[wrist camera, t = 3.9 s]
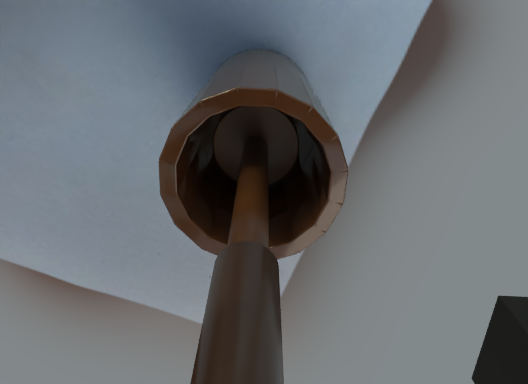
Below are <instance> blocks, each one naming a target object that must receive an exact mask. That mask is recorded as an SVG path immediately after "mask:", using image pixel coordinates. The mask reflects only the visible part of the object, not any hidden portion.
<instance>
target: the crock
mask: <svg viewBox="0 0 528 384" xmlns="http://www.w3.org/2000/svg"><path fill="white" fill-rule="evenodd" d="M238 106H254V107H272V108H275V109H277V110H279V111H281V112H283V113H285V114H288V115H290V116H292V117H293V119H294V121H295V124H296V128H297V133H298V137H299V152H298V156H297V159H296V162H295V164H294V165H293V167H292V169H291V170H290V171H289V172H288V173H287V174H286V175H285V176H284V177H282V178H281V179H280V180H278V181H276V182H274V183H271V184H268V210H269V250H270V251H271V252H272V253H273V254H274V256H275V257H276V259H281V258H284V257H287V256H291V255H294V254H297V253H298V252H299V253H300V252H301V251H303V250H304V249H305V248H307V247H308V246H309V245H311V244H312V243H313V242H315V241H316V240H317V239H319V238H320V237H321V236H323V235H324V234H325V233H326V232H327V230H328V228H329V227H330V225H331V224H332V222H333V220H334V219H335V217H336V215H337V214H338V212H339V210H340V209H341V207H342V205H343V203H344V197H345V190H346V184H347V176H348V170H347V169H348V166H347V163H346V160H345V156H344V153H343V149H342V146H341V143H340V139H339V136H338V134H337V132H336V130H335V129H334V127H333V125H332V123H331V121H330V119H329V117H328V116H327V114H326V112H325V110H324V108H323V106H322V104H321V103H320V101H319V99H318V97H317V96H316V95H315V94H314V92H313V90H312V88H311V86H310V84H309V82H308V81H307V79H306V77H305V75H304V73H303V72H302V71H301V69H300V68H299V67H298V66H297V65H296V64H295V63H294V62H293V61H292V60H291V59H289V58H288V57H286V56H284V55H283V54H280V53H278V52H275V51H272V50H266V49H251V50H246V51H243V52H240V53H237V54H235V55H233V56H232V57H230V58H228V59H227V60H226V61H225V62H224V63H222V64H221V66H220V67H219V68H218V69H217V70H216V72H215V73H214V74H213V76H212V77H211V78H210V80H209V81H208V82H207V84H206V85H205V86H204V87H203V88H202V89H201V90H200V91H199V92H198V94H197V95H196V96H195V98H194V99H193V100H192V102H191V103H190V104H189V105H188V107H187V108H186V109H185V111H184V112H183V113H182V115H181V116H180V117H179V119H178V120H177V121H176V123H175V124H174V125H173V127H172V128H171V130H170V133H169V135H168V138H167V140H166V143H165V145H164V148H163V150H162V153H161V155H160V158H159V179H160V194H161V197H162V199H163V201H164V203H165V206H166V208H167V210H168V212H169V214H170V216H171V218H172V220H173V222H174V224H175V225H176V226H177V227H178V228H179V229H180V230H181V231H182V232H183V233H184V234H186V235H187V236H188V237H189V238H190V239H191V240H192V241H193V242H194V243H195V244H197V245H198V246H199V247H200V248H201V249H203V250H205V251H208V252H210V253H213V254H215V255H218V254H219V253H220V252H221V251H222V250H223V249H224V248H225V247H227V245H228V239H229V233H230V226H231V220H232V214H233V208H234V202H235V196H236V189H237V183H238V182H237V181H235V180H233V179H231V178H230V177H229V176H227V175H226V174H225V173H224V172H223V171H222V169H221V168H220V167H219V165H218V163H217V161H216V159H215V156H214V153H213V136H214V132H215V129H216V126H217V124H218V122H219V119H220V117H221V115H222V113H223V112H224V111H227V110H230V109H233V108H236V107H238Z"/></svg>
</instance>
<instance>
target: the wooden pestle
mask: <svg viewBox="0 0 528 384" xmlns="http://www.w3.org/2000/svg"><path fill="white" fill-rule="evenodd" d="M298 152H299V137H298V133H297V128H296V124H295V121H294V119H293V117H292V116H290V115H288V114H285V113H283V112H281V111H279V110H277V109H275V108H272V107H254V106H238V107H236V108H233V109H230V110H227V111H224V112H223V113H222V115H221V117H220V119H219V122H218V124H217V126H216V129H215V132H214V136H213V153H214V156H215V159H216V161H217V163H218V165H219V167H220V168H221V169H222V171H223V172H224V173H225V174H226V175H227V176H229V177H230V178H231V179H233V180H235V181H237V182H238V183H237V189H236V196H235V202H234V208H233V214H232V220H231V226H230V233H229V239H228V245H227V247H225V248H224V249H223V250H222V251H221V252H220V253H219V254H218V256H217V258H216V260H215V264H214V269H213V274H212V279H211V284H210V289H209V294H208V299H207V304H206V309H205V314H204V319H203V324H202V329H201V334H200V339H199V344H198V350H197V354H196V359H195V364H194V369H193V374H192V379H191V384H284V378H283V355H282V333H281V312H280V311H281V309H280V287H279V266H278V262H277V259H276V257H275V256H274V254H273V253H272V252H271V251H270V250H269V210H268V184H271V183H274V182H276V181H278V180H280V179H281V178H282V177H284V176H285V175H286V174H287V173H288V172H289V171H290V170H291V169H292V167H293V165H294V164H295V162H296V159H297V156H298Z"/></svg>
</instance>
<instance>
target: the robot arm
mask: <svg viewBox="0 0 528 384" xmlns="http://www.w3.org/2000/svg"><path fill="white" fill-rule="evenodd" d="M472 380H473V381H474V383H475V384H528V297H515V296H498V298H497V302H496V304H495V308H494V311H493V314H492V317H491V320H490V323H489V326H488V329H487V332H486V335H485V339H484V341H483V345H482V348H481V351H480V354H479V357H478V360H477V363H476V366H475V370H474V372H473V375H472Z"/></svg>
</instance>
